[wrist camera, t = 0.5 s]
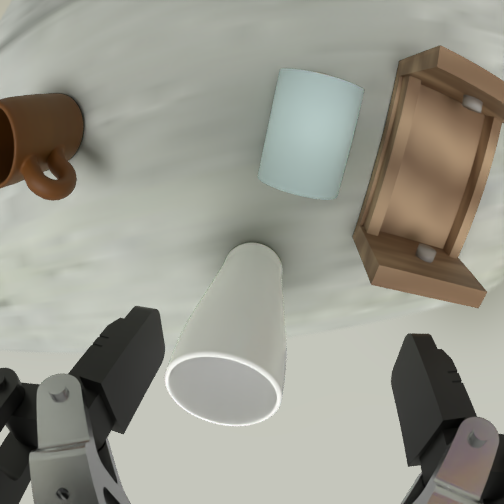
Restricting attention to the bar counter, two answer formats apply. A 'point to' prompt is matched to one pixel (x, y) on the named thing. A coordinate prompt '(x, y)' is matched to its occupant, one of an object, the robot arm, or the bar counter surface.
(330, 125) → the paper roll
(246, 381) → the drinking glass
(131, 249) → the bar counter surface
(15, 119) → the mug
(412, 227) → the roll holder
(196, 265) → the bar counter surface
